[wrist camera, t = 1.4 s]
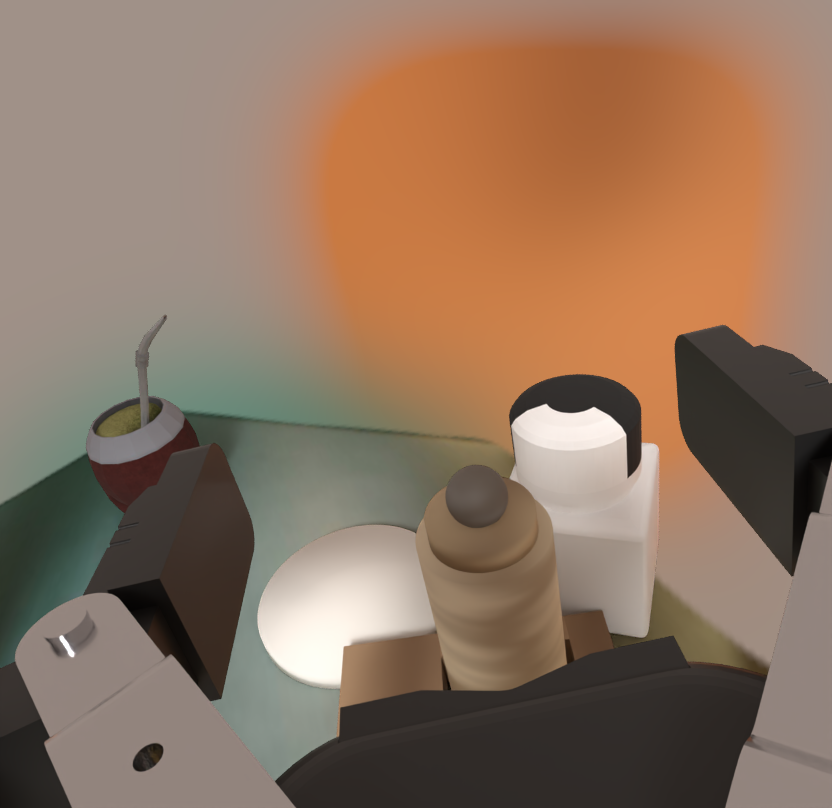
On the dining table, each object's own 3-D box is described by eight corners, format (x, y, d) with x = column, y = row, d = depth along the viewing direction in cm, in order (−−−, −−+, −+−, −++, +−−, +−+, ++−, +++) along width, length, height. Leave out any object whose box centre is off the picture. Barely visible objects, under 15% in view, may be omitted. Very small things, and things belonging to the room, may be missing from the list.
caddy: (341, 857, 29) (328, 833, 28) (352, 671, 37) (343, 646, 36) (659, 820, 28) (659, 793, 27) (603, 636, 36) (602, 610, 35)
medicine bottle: (536, 527, 43) (515, 357, 37) (659, 540, 41) (660, 360, 34) (507, 619, 38) (478, 438, 32) (647, 642, 35) (646, 450, 29)
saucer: (246, 702, 36) (240, 690, 36) (277, 550, 46) (272, 539, 45) (458, 673, 36) (455, 661, 35) (446, 524, 45) (443, 512, 44)
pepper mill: (468, 793, 30) (401, 533, 22) (460, 691, 35) (400, 441, 27) (585, 779, 30) (559, 509, 22) (562, 677, 34) (533, 419, 26)
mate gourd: (114, 505, 53) (19, 328, 45) (212, 458, 56) (139, 284, 48) (136, 559, 48) (32, 367, 40) (244, 503, 50) (167, 315, 42)
